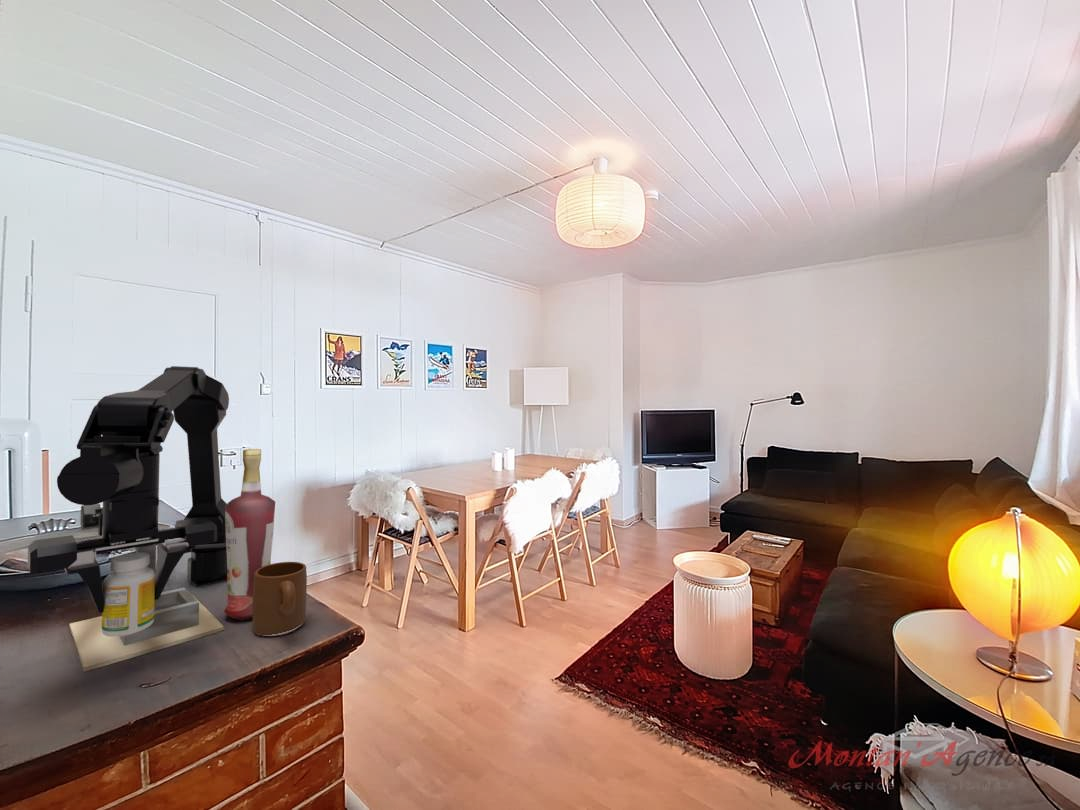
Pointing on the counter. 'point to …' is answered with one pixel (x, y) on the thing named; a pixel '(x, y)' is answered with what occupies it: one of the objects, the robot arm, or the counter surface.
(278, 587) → the mug
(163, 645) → the socket board
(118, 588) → the supplement bottle
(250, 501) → the liquor
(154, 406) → the robot arm
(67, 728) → the counter surface
